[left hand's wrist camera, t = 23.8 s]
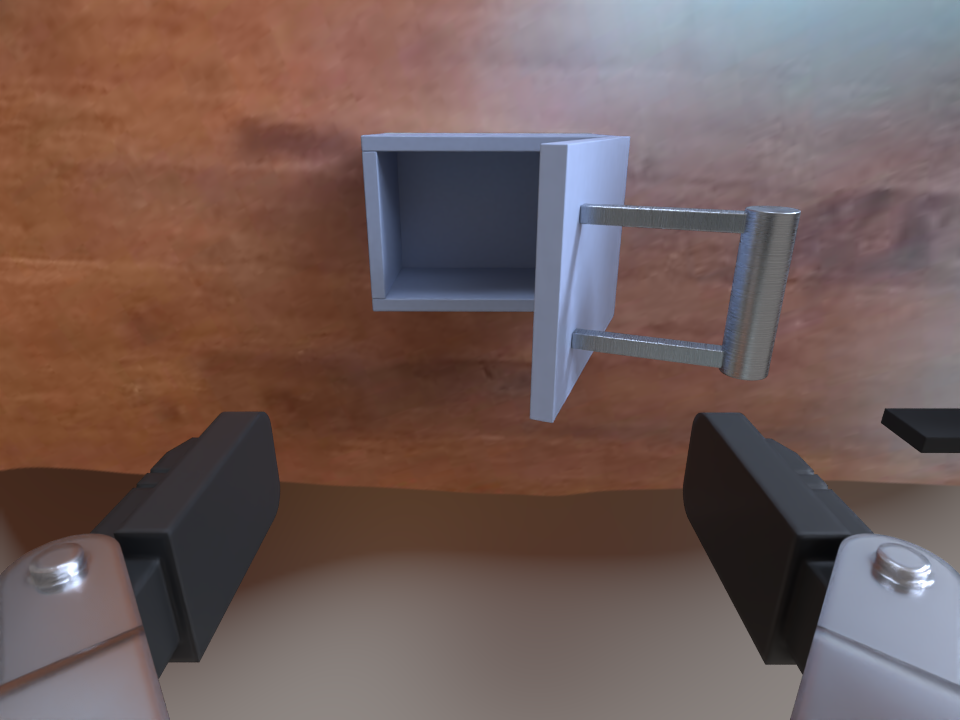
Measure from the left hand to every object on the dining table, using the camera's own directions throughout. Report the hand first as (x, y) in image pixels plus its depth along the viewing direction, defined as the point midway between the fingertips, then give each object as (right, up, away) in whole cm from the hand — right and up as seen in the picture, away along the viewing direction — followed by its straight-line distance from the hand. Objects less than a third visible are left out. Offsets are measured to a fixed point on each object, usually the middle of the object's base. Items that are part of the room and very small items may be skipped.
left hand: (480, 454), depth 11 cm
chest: (0, +13, +32) cm, 35 cm away
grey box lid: (+5, +7, +17) cm, 19 cm away
